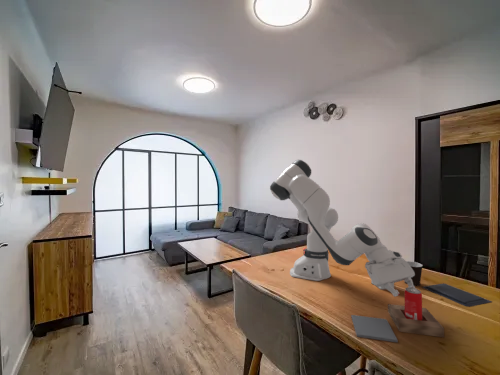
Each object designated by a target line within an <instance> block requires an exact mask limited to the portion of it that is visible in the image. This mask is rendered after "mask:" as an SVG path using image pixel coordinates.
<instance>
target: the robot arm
mask: <svg viewBox="0 0 500 375" xmlns="http://www.w3.org/2000/svg"><path fill="white" fill-rule="evenodd" d="M311 176H312V169H311V167H310V165H309V164H308V163H307V162H306V161H304V160H303V159H296V160H295V161H293V162H292V164H290V165H289V166H288V167H286V168H285V169H284V170H283V171H282V172H281V173H280V174H279V175H278V177H277V178H276V179H274V180H275V181H273V182H272V183H271V184H270V185H269V189H270V192H271V194H272V195H273V198H275V199H277V200H279V201H286V200H288V199H289V201H290V202H291V203H292V204H293V205H294V206H295V208H296V209H297V218H298V220H299V221H301V222H303V223H305V224H307V225H310V226H311V227H312V230H311V232H309V233H308V234H307V235H306V247H303V249H302V251H303V255H302V256H300V257H299V258H297V259H296V260H295V261H294V263H293V267H291V268H290V269H289V275H290V276H291V277H293V278H298V279H304V280H310V281H316V282H320V281H323V280H327V279H329V278H330V277H331V276H332V274H331V272H330V271H331V270H330V266H329V256H330V255H331V257H332V259H333V260H334V261H335V263H337V264H339V265H343V266H350V265H351V264H352V263H353V262H355V260H356V259H359V257H361V256H363V255H365V257H366V259H367V260H368V261H367V262H365V264H364V268H365V269H366V271H367V274H368V276H369V278H370V281H371V280H372V282H373V283H374V284H373V286H375V287H377V288H378V287H380V286H384V287H385V288H386V289H385V290H387V291H388V292H390V293H391V294H392V296H393V297H398V296H400V294H401V293H400V292H399V291H398V289H395V287H394V288H393V287H392V286H391V283H394V284H395V283H397V282H402V281H403V282H404V283H405V282H406V283H407V284H406V283H405V284H406V285H407V286H408V287H407V288H415V289H417V288H416V286H414V285H413V282H412V279H411V277H413V276H415V273H414V271H413V269H412V268H411V267H410V265H409V264H408V263H407V262H406V261H407V260H406V259H405V258H403V255H402V254H401V253H400V252H399V251H393V250H391V249H388V248H387V247H386V245H384V244H383V243H382V241H381V239H380V238H379V236H378V234H376V233H375V231H374V230H373V229H372V228H371V227H370V226H369V225H368V224H366V223H362V222H361V223H357V224H356V225H354V226H352V228H351V229H350V231H349V232H347V233H346V234H345V235H344V236H342V238H340V239H339V240H336V239H335V237H334V236H333V235H332V233H331V232H330V231H331V230H332V228H333V227H334V226H336V225H337V223H338V221H339V214H338V211H337V210H336V209H335V208H332V207H330V205H331V199H330V196H329V194H328V193H327V192H326V191H325V189H324V188H322V187H321V186H320V185H319V184H318V183H317V182H316V181H314V180H313V179H312V178H310V177H311ZM329 253H330V254H329Z"/></svg>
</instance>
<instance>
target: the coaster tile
mask: <svg viewBox="0 0 500 375" xmlns="http://www.w3.org/2000/svg"><path fill="white" fill-rule="evenodd" d="M350 316H351V320H352V323H353V327H354V331H355V335H356V337H358V338H364V339H369V340H370V339H372V340H378V341H385V342H386V341H387V342H392V343H398V338H397V336H396V334H395V333H394V332H395V331H393V328H392V327H391V325H390V323H389V322H388V320H387V319H386V318H382V317H381V318H379V317H372V316H371V317H370V316H363V315H356V314H351V315H350Z"/></svg>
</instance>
